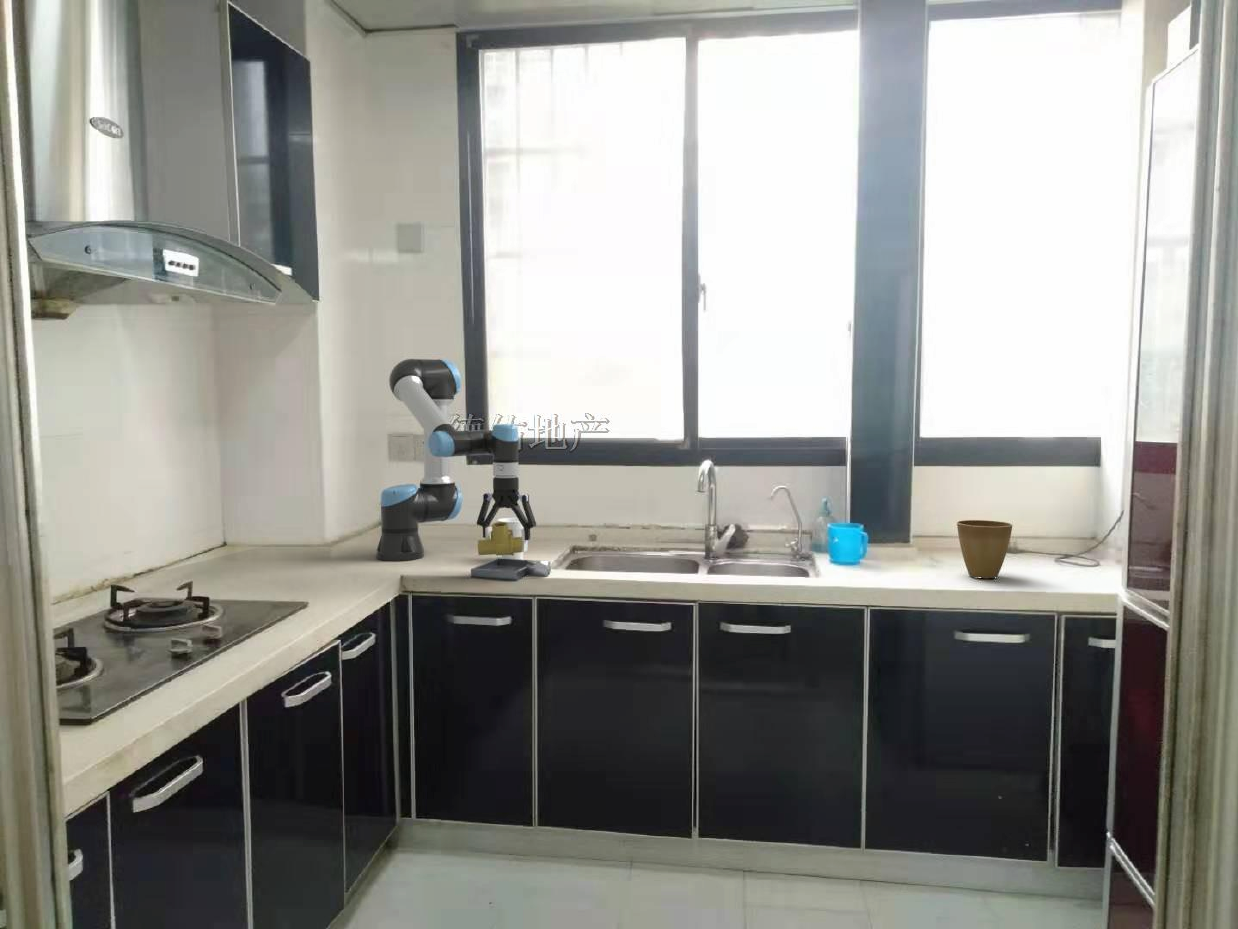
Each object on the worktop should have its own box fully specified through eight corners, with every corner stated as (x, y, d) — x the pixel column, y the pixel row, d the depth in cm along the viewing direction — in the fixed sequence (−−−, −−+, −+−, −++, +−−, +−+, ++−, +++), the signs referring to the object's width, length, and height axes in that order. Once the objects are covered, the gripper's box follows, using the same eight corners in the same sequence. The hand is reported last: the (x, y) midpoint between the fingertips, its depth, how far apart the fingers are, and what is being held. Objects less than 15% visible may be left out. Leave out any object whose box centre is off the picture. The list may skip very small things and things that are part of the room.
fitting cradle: (471, 577, 243) (470, 562, 243) (497, 565, 260) (497, 552, 260) (536, 582, 237) (536, 567, 237) (559, 570, 254) (559, 555, 254)
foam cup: (530, 561, 267) (530, 521, 266) (502, 563, 264) (501, 522, 263) (522, 556, 276) (522, 517, 275) (495, 558, 273) (494, 518, 272)
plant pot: (1018, 577, 245) (1020, 522, 244) (998, 585, 234) (1000, 528, 233) (967, 569, 255) (969, 517, 254) (946, 576, 245) (948, 522, 244)
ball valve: (522, 559, 244) (522, 548, 254) (519, 525, 242) (520, 515, 252) (478, 562, 243) (481, 551, 253) (475, 528, 241) (478, 519, 250)
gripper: (464, 476, 247) (465, 549, 249) (537, 478, 240) (538, 554, 242) (475, 474, 254) (476, 545, 256) (547, 476, 247) (547, 549, 249)
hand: (506, 549), depth 249 cm, fingers closed on ball valve, 11 cm apart
